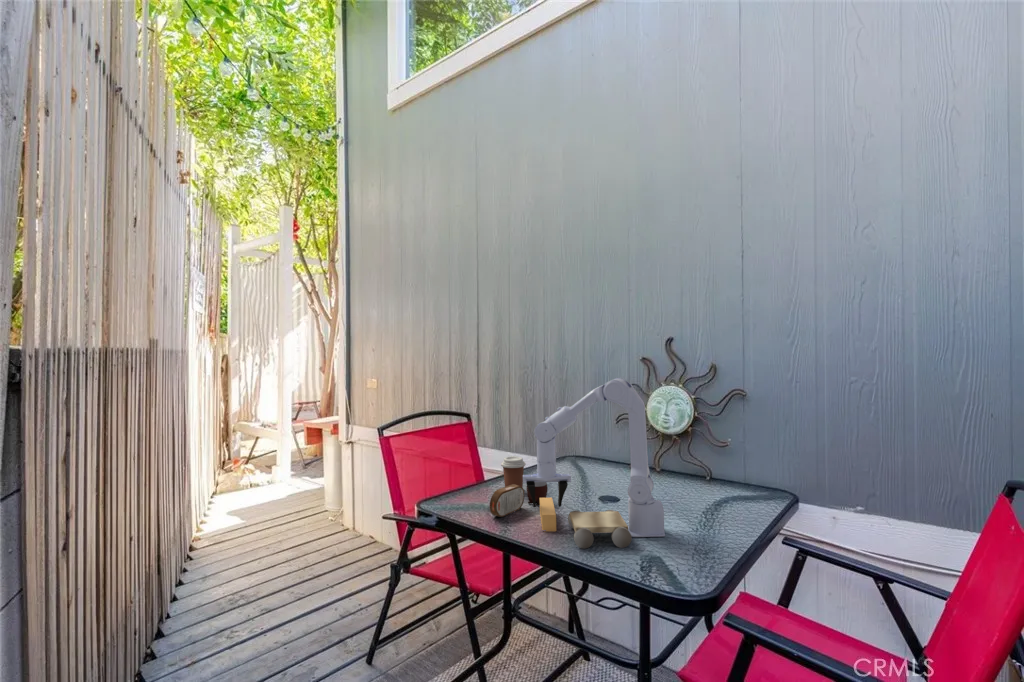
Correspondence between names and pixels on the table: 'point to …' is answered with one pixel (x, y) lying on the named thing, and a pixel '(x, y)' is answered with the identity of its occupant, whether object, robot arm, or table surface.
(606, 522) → the trolley
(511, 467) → the coffee cup
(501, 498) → the tin
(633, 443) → the robot arm
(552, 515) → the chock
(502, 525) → the table surface
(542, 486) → the mate gourd
